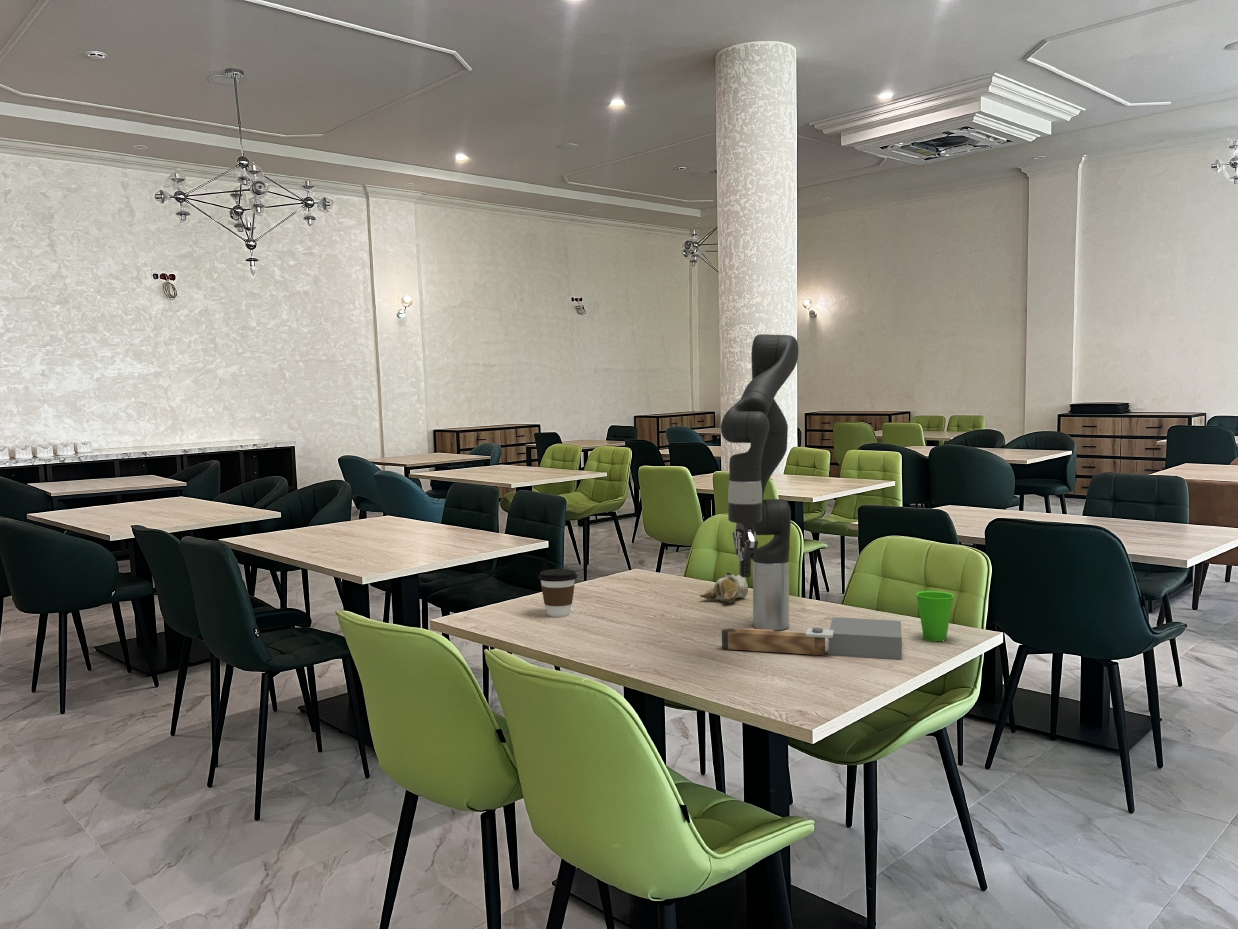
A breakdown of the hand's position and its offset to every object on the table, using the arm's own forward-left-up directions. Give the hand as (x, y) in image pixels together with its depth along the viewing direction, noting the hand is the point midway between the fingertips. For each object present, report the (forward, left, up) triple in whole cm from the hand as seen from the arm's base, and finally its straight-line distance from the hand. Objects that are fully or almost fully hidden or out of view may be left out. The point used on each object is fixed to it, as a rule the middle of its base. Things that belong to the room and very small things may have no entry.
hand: (745, 576), depth 199 cm
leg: (-8, +5, -19) cm, 21 cm away
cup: (-28, +42, -19) cm, 54 cm away
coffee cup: (-31, -57, -19) cm, 68 cm away
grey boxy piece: (-15, +16, -19) cm, 29 cm away
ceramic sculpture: (-59, -14, -19) cm, 64 cm away
